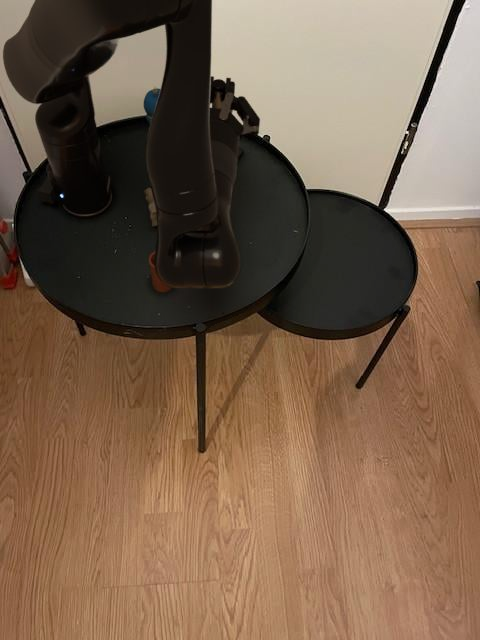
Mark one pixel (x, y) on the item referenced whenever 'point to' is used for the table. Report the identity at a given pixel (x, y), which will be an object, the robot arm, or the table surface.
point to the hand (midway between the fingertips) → (219, 82)
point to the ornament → (151, 103)
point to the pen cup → (155, 280)
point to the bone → (151, 206)
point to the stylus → (218, 93)
